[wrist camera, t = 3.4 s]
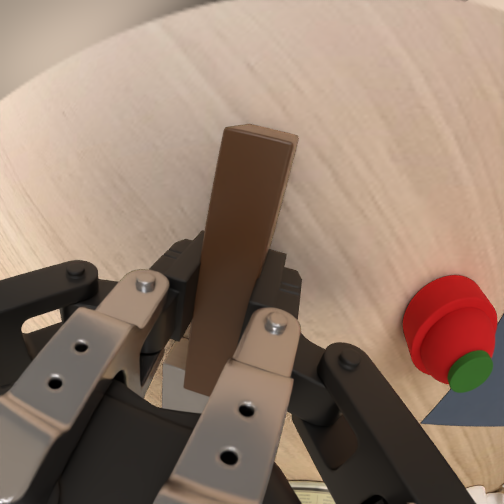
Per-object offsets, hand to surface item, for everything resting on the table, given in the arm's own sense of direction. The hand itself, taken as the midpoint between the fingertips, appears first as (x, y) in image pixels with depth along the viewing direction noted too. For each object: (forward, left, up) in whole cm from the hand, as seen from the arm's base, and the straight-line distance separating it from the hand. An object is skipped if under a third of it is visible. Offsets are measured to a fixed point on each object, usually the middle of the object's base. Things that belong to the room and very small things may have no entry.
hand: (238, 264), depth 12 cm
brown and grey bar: (+4, 0, -1) cm, 4 cm away
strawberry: (0, +9, -1) cm, 9 cm away
